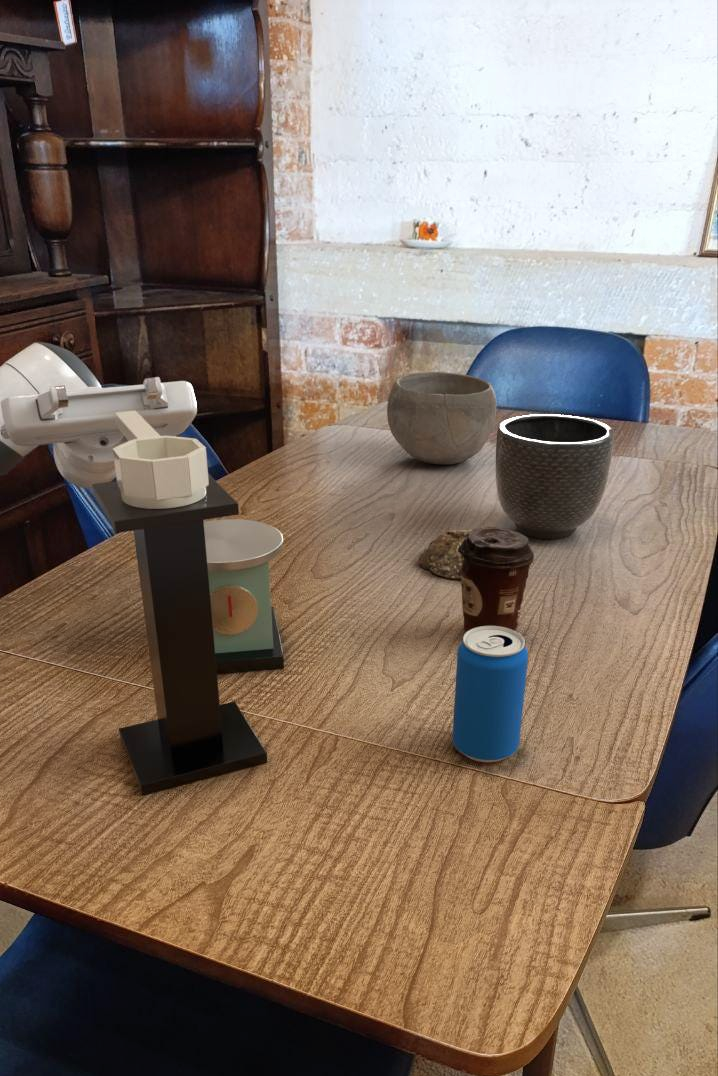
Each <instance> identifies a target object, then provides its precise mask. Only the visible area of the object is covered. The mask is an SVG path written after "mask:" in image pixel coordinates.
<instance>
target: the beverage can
mask: <svg viewBox="0 0 718 1076" xmlns="http://www.w3.org/2000/svg"><path fill="white" fill-rule="evenodd" d="M525 640H526V639H525V638H524V637H523V636H522V634H521V633H519V632H517V630H515V631H514V630H511V629H508V628H504V627H499V626H482V627H477V628H474V629H471V630H469V631H468V632H466V633H465V635H463V638H462V641H461V642H460V643H459V645H458V647H457V653H456V654H457V656H456V670H455V671H456V673H455V687H454V704H453V719H452V720H453V721H452V737H451V739H452V744H453V746H454V747H455V749H456V750H457V751H458V752H459V753H461V754H462V755H464V756H465V757H467V758H468V759H470V760H473V761H476V762H478V763H479V762H480V763H496V762H500V761H503V760H505V759H508V758H509V757H512V756H513V755H514V754H515V753H516V752H517V750H518V749H519V746H520V740H521V730H522V722H523V721H522V719H523V710H524V701H525V691H526V683H527V682H526V681H527V672H528V662H529V652H528V649H527V647H526V645H525V644H526V641H525Z"/></svg>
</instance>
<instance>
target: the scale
mask: <svg viewBox="0 0 718 1076" xmlns="http://www.w3.org/2000/svg"><path fill="white" fill-rule="evenodd" d="M204 532H205V543H206V555H207V566H208V577H209V589H210V600H211V612H212V623H213V634H214V646H215V657H216V668H217V675H220V674H221V675H222V674H233V673H245V672H256V671H257V672H259V671H269V670H281V669H285V659H284V652H283V647H282V642H281V637H280V636H281V635H280V631H279V625H278V621H277V615H276V611H275V607H274V606H272V601H271V599H272V598H271V581H270V580H271V579H270V578H271V577H270V564H269V563H270V561H272V560H274V559H275V558H277V557H278V556H279V555H280V554H281V553H282V551H283V549H284V536H283V534H282V532H281V531H280V530H279V529H277V527H274V526H273V525H270V524H268V523H265V522H262V521H256V520H250V519H238V518H237V519H236V518H229V519H228V518H227V519H226V518H225V519H212V520H207V521H206V520H205V521H204Z"/></svg>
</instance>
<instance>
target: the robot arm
mask: <svg viewBox="0 0 718 1076" xmlns="http://www.w3.org/2000/svg"><path fill="white" fill-rule="evenodd" d="M197 407H198V406H197V400H196V396H195V392H194V387H193V385H192V384H191V383H190V382H189V381H187V380H177V381H167V382H161V378H160V377H159V376H155V377H146V378H144V380H143V382H142V384H134V385H123V386H112V387H102V385H101V384H100V382H99V381H98V379H97V378H96V376H95V375H94V374H93V372H92V371H91V370H90V369H89V367H88V366H87V365H86V364H85V363H84V362H83V361H82V360H81V359H80V358H79V357H78V356H77V355H76V354H74V353H73V352H72V351H70V350H68V349H66V348H63V347H62V346H59V345H56V344H52V343H48V342H43V341H42V342H41V341H34V342H33V343H32V344H30V345H29V346H27V347H25V348H24V349H23V350H21V351H20V352H18V353H16V354H15V355H14V356H12V357H11V358H9V359H8V360H6V361H5V362H4V363H3V364H1V366H0V476H6V475H7V474H9V473H10V472H11V471H12V470H13V469H14V468H15V467H16V466H17V465H18V464H19V463H21V462H22V461H23V460H24V459H25V457H26V456H27V455H29V454H30V453H31V452H32V451H33V450H35V449H37V448H38V447H39V446H45V445H53V449H52V450H53V458H54V463H55V465H56V468H57V470H58V472H59V473H60V475H61V476H62V478H64V480H65V481H67V482H68V483H69V484H71V485H73V486H74V487H78V488H81V489H87V490H93V487H92V484H97V483H105V482H112V481H113V480H115V479H116V470H115V463H114V455H113V448H115V447H117V446H119V445H121V444H124V443H126V442H128V440H127V439H126V437H125V436H124V435H123V434H122V433H121V431H120V430H119V429H118V428H117V426H116V419H115V413H116V412H125V411H137V412H138V413H139V414H140V415H141V416H142V417H143V418H144V419H145V420H146V421H147V423H148V424H149V425H150V426H151V427H152V428H153V429H154V430H155V431H156V432H157V433H158V434H159V435H160V436H175V437H178V436H179V435H181V434H182V433H184V432H185V431H186V430H187V429H188V427H189V426H191V424H192V422H193V421H194V420H195V417H196V416H197V413H198V408H197Z"/></svg>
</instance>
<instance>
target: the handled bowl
mask: <svg viewBox="0 0 718 1076" xmlns="http://www.w3.org/2000/svg"><path fill="white" fill-rule="evenodd" d="M115 419H116V426H117V428H118V429H119V430H120V431H121V433H122V434H123V435H124V436H125V437H126V439H127V440H128V442H126V443H124V444H121V445H119V446H117V447H115V448H113V455H114V463H115V470H116V477H115V479H116V481H117V485H118V487H119V489H120V492H121V499H122V501H123V502H124V503H126V504H128V505H130V506H134V507H138V508H146V509H167V508H176V507H181V506H186V505H189V504H192V503H195V502H198V501H199V500H201V499H203V498H204V497H205V496H206V494H207V489H206V486H208V485H209V480H208V474H209V469H208V457H207V456H208V455H207V447H206V446H205V445H204V444H203V443H202V442H200V440H199V439H197V438H193V437H184V436H176V437H175V436H160V435H159V434H158V433H157V432H156V431H155V430H154V429H153V428H152V427H151V426H150V425H149V424H148V423H147V421H146V420H145V419H144V418H143V417H142V416H141V415H140V414H139V413H138V412H137V411H125V412H116V413H115Z"/></svg>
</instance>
